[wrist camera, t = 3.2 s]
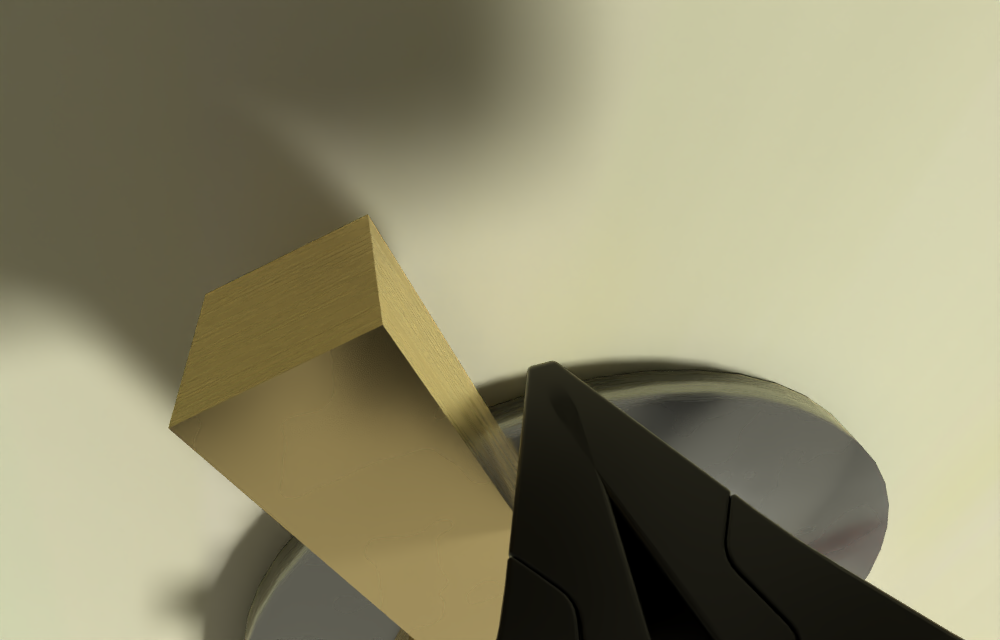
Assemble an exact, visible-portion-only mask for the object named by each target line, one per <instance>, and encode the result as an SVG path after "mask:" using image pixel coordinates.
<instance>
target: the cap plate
mask: <svg viewBox="0 0 1000 640" xmlns="http://www.w3.org/2000/svg"><path fill="white" fill-rule="evenodd" d="M583 382H585V383H586V384H587V385H589V386H590V387H591V388H593V389H594V390H595V391H597V392H598V393H599V394H601V395H602V396H603V397H605V398H606V399H608V400H609V401H610V402H612V403H613V404H614V405H616V406H617V407H618V408H620V409H621V410H622V411H624V412H625V413H626V414H628V415H629V416H630V417H632V418H633V419H635V420H636V421H637V422H639V423H640V424H641V425H643V426H644V427H645V428H647V429H648V430H649V431H651V432H652V433H653V434H655V435H656V436H657V437H659V438H660V439H662V440H663V441H664V442H666V443H667V444H668V445H670V446H671V447H672V448H674V449H675V450H676V451H678V452H679V453H680V454H682V455H683V456H684V457H686V458H687V459H689V460H690V461H691V462H693V463H694V464H695V465H697V466H698V467H699V468H701V469H702V470H703V471H705V472H706V473H707V474H709V475H710V476H712V477H713V478H714V479H716V480H717V481H718V482H720V483H721V484H722V485H724V486H725V487H726V488H728V489H729V490H730V491H731V495H733V494H736V495H738V496H739V497H740V498H742V499H743V500H744V501H746V502H747V503H748V504H750V505H751V506H752V507H754V508H755V509H756V510H758V511H759V512H760V513H762V514H763V515H765V516H766V517H768V518H769V519H770V520H772V521H773V522H775V523H776V524H779V526H780V527H782V528H783V529H785V530H786V531H788V532H789V533H791V534H792V535H793V536H795V537H796V538H798V539H799V540H801V541H802V542H804V543H806V544H807V545H809V546H810V547H812V548H813V549H815V550H817V551H818V552H820V553H821V554H823V555H825V556H826V557H828V558H829V559H831V560H832V561H834V562H836V563H837V564H839V565H840V566H842V567H844V568H845V569H847V570H849V571H850V572H852V573H854V574H855V575H857V576H859V577H860V578H862V579H864V580H865V579H866V577H867V576H868V574H869V573H870V571H871V569H872V567H873V564H874V562H875V560H876V558H877V556H878V554H879V552H880V550H881V546H882V543H883V539H884V536H885V532H886V529H887V521H888V508H889V503H888V497H887V491H886V485H885V481H884V479H883V477H882V475H881V473H880V471H879V469H878V467H877V465H876V462H875V461H874V460H873V459H872V458H871V456H870V455H869V454H868V453H867V452H866V451H865V450H864V448H863V447H862V446H861V445H860V444H859V443H858V442H857V441H856V440H855V438H854V437H853V436H852V435H851V434H850V433H849V432H848V431H847V430H846V429H845V428H844V427H843V426H842V425H841V424H840V423H839V422H838V420H837V419H836V418H835V417H834V416H833V415H832V414H831V413H829V412H828V411H827V410H825V409H824V408H822V407H821V406H819V405H818V404H817V403H815V402H814V401H812V400H811V399H810V398H808V397H806V396H804V395H802V394H799V393H797V392H795V391H793V390H790V389H788V388H786V387H783V386H781V385H779V384H776V383H772V382H768V381H764V380H760V379H756V378H752V377H748V376H744V375H740V374H730V373H720V372H711V371H701V370H674V371H644V372H636V373H629V374H621V375H613V376H605V377H598V378H592V379H588V380H584V381H583ZM524 400H525V396H523V397H520V398H517V399H514V400H511V401H508V402H505V403H502V404H499V405H496V406H493V407H490V408H488V409H489V411H490V412H491V414H492V415H493V417H494V419H495V420H496V422H497V424H498V425H499V427H500V428H501V430H502V432H503V433H504V435H505V436H506V438H507V440H508V441H509V443H510V444H511V446H512V448H513V449H514V451H515V453H516V454H517V456H518V457H519V448H520V438H521V428H522V419H523V409H524ZM400 628H401V627H399V626H398V625H397V624H396V623H395V622H394V621H392V620H391V619H390V618H389V617H388V616H387V615H385V614H384V613H383V612H382V611H381V610H380V609H378V608H377V607H376V606H375V605H374V604H373V603H371V602H370V601H369V600H368V599H367V598H366V597H364V596H363V595H362V594H361V593H360V592H359V591H357V590H356V589H355V588H354V587H353V586H352V585H350V584H349V583H348V582H347V581H346V580H345V579H343V578H342V577H341V576H340V575H339V574H338V573H337V572H335V571H334V570H333V569H332V568H331V567H330V566H328V565H327V564H326V563H325V562H324V561H323V560H321V559H320V558H319V557H318V556H317V555H316V554H314V553H313V552H312V551H311V550H310V549H309V548H307V547H306V546H305V545H304V544H303V543H302V542H300V541H299V540H298V539H297V538H296V537H295V536H293V538H292V539H291V540H290V541H289V542H288V543H287V545H286V546H285V547H284V548H283V549H282V550H281V552H280V553H279V554H278V556H277V557H276V559H275V560H274V562H273V564H272V565H271V567H270V569H269V570H268V572H267V573H266V575H265V577H264V578H263V580H262V582H261V583H260V585H259V587H258V590H257V593H256V595H255V598H254V600H253V603H252V606H251V608H250V611H249V614H248V618H247V625H246V633H245V640H395V638H396V636H397V634H398V632H399V630H400Z"/></svg>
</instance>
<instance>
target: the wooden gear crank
mask: <svg viewBox="0 0 1000 640" xmlns="http://www.w3.org/2000/svg"><path fill="white" fill-rule="evenodd" d="M169 429H170V430H171V431H172V432H173V433H175V434H176V435H177V436H178V437H179V438H180V439H182V440H183V441H184V442H185V443H186V444H187V445H189V446H190V447H191V448H192V449H193V450H194V451H196V452H197V453H198V454H199V455H200V456H201V457H203V458H204V459H205V460H206V461H207V462H208V463H210V464H211V465H212V466H213V467H214V468H215V469H217V470H218V471H219V472H220V473H221V474H222V475H224V476H225V477H226V478H227V479H228V480H229V481H231V482H232V483H233V484H234V485H235V486H236V487H238V488H239V489H240V490H241V491H242V492H243V493H244V494H246V495H247V496H248V497H249V498H250V499H251V500H253V501H254V502H255V503H256V504H257V505H258V506H260V507H261V508H262V509H263V510H264V511H265V512H267V513H268V514H269V515H270V516H271V517H272V518H274V519H275V520H276V521H277V522H278V523H279V524H281V525H282V526H283V527H284V528H285V529H286V530H288V531H289V532H290V533H291V534H292V535H293V536H295V537H296V538H297V539H298V540H299V541H300V542H302V543H303V544H304V545H305V546H306V547H307V548H309V549H310V550H311V551H312V552H313V553H314V554H316V555H317V556H318V557H319V558H320V559H321V560H323V561H324V562H325V563H326V564H327V565H328V566H330V567H331V568H332V569H333V570H334V571H335V572H337V573H338V574H339V575H340V576H341V577H342V578H343V579H345V580H346V581H347V582H348V583H349V584H350V585H352V586H353V587H354V588H355V589H356V590H357V591H359V592H360V593H361V594H362V595H363V596H364V597H366V598H367V599H368V600H369V601H370V602H371V603H373V604H374V605H375V606H376V607H377V608H378V609H380V610H381V611H382V612H383V613H384V614H385V615H387V616H388V617H389V618H390V619H391V620H392V621H394V622H395V623H396V624H397V625H398V626H399V627H401V628H400V630H399V632H398V634H397V636H396V638H395V640H496V638H497V633H498V628H499V622H500V615H501V608H502V601H503V594H504V587H505V578H506V568H507V560H508V559H509V555H508V553H509V543H510V534H511V524H512V514H513V505H514V495H515V486H516V476H517V467H518V456H517V454H516V453H515V451H514V449H513V448H512V446H511V444H510V443H509V441H508V440H507V438H506V436H505V435H504V433H503V432H502V430H501V428H500V427H499V425H498V424H497V422H496V420H495V419H494V417H493V415H492V414H491V412H490V411H489V409H488V407H487V406H486V404H485V403H484V401H483V399H482V398H481V396H480V394H479V393H478V391H477V390H476V388H475V386H474V385H473V383H472V382H471V380H470V378H469V377H468V375H467V373H466V372H465V370H464V369H463V367H462V365H461V364H460V362H459V361H458V359H457V357H456V356H455V354H454V352H453V351H452V349H451V348H450V346H449V344H448V343H447V341H446V340H445V338H444V336H443V335H442V333H441V332H440V330H439V328H438V327H437V325H436V323H435V322H434V320H433V319H432V317H431V315H430V314H429V312H428V311H427V309H426V307H425V306H424V304H423V302H422V301H421V299H420V298H419V296H418V294H417V293H416V291H415V290H414V288H413V286H412V285H411V283H410V281H409V280H408V278H407V277H406V275H405V273H404V272H403V270H402V269H401V267H400V265H399V264H398V262H397V260H396V259H395V257H394V256H393V254H392V252H391V251H390V249H389V248H388V246H387V244H386V243H385V241H384V240H383V238H382V236H381V235H380V233H379V231H378V230H377V228H376V227H375V225H374V223H373V222H372V220H371V219H370V217H369V215H368V214H367V215H365V216H363V217H361V218H359V219H357V220H355V221H353V222H351V223H349V224H347V225H345V226H343V227H341V228H339V229H337V230H335V231H333V232H331V233H329V234H327V235H325V236H323V237H321V238H319V239H317V240H315V241H313V242H311V243H309V244H307V245H305V246H302V247H300V248H298V249H296V250H294V251H292V252H290V253H288V254H286V255H284V256H282V257H280V258H278V259H276V260H274V261H272V262H270V263H268V264H266V265H264V266H262V267H260V268H258V269H256V270H254V271H252V272H250V273H248V274H246V275H244V276H242V277H240V278H238V279H236V280H234V281H232V282H230V283H227V284H225V285H223V286H221V287H219V288H217V289H215V290H213V291H211V292H209V293H207V294H206V295H205V298H204V302H203V305H202V309H201V313H200V316H199V320H198V323H197V327H196V331H195V334H194V338H193V341H192V345H191V349H190V352H189V356H188V359H187V363H186V367H185V370H184V374H183V377H182V381H181V385H180V388H179V392H178V395H177V399H176V403H175V406H174V410H173V413H172V417H171V421H170V424H169ZM778 525H779V524H778ZM790 534H791V533H790Z"/></svg>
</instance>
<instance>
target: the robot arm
mask: <svg viewBox="0 0 1000 640" xmlns="http://www.w3.org/2000/svg"><path fill="white" fill-rule="evenodd" d="M508 555H509V559H508V560H507V568H506V578H505V587H504V594H503V601H502V608H501V615H500V622H499V628H498V633H497V638H496V640H964V639H962V638H961V637H959V636H957V635H955V634H953V633H952V632H950V631H948V630H947V629H945V628H943V627H942V626H940V625H938V624H937V623H935V622H933V621H932V620H930V619H928V618H927V617H925V616H923V615H922V614H920V613H918V612H917V611H915V610H913V609H912V608H910V607H909V606H907V605H905V604H904V603H902V602H900V601H899V600H897V599H895V598H894V597H892V596H890V595H889V594H887V593H885V592H884V591H882V590H880V589H879V588H877V587H875V586H874V585H872V584H870V583H869V582H867V581H865V580H864V579H862V578H860V577H859V576H857V575H855V574H854V573H852V572H850V571H849V570H847V569H845V568H844V567H842V566H840V565H839V564H837V563H836V562H834V561H832V560H831V559H829V558H828V557H826V556H825V555H823V554H821V553H820V552H818V551H817V550H815V549H813V548H812V547H810V546H809V545H807V544H806V543H804V542H802V541H801V540H799V539H798V538H796V537H795V536H793V535H792V534H790V533H789V532H788V531H786V530H785V529H783V528H782V527H780V526H779V525H778V524H776V523H775V522H773V521H772V520H770V519H769V518H768V517H766V516H765V515H763V514H762V513H760V512H759V511H758V510H756V509H755V508H754V507H752V506H751V505H750V504H748V503H747V502H746V501H744V500H743V499H742V498H740V497H739V496H738V495H736V494H733V495H731V491H730V490H729V489H728V488H726V487H725V486H724V485H722V484H721V483H720V482H718V481H717V480H716V479H714V478H713V477H712V476H710V475H709V474H707V473H706V472H705V471H703V470H702V469H701V468H699V467H698V466H697V465H695V464H694V463H693V462H691V461H690V460H689V459H687V458H686V457H684V456H683V455H682V454H680V453H679V452H678V451H676V450H675V449H674V448H672V447H671V446H670V445H668V444H667V443H666V442H664V441H663V440H662V439H660V438H659V437H657V436H656V435H655V434H653V433H652V432H651V431H649V430H648V429H647V428H645V427H644V426H643V425H641V424H640V423H639V422H637V421H636V420H635V419H633V418H632V417H630V416H629V415H628V414H626V413H625V412H624V411H622V410H621V409H620V408H618V407H617V406H616V405H614V404H613V403H612V402H610V401H609V400H608V399H606V398H605V397H603V396H602V395H601V394H599V393H598V392H597V391H595V390H594V389H593V388H591V387H590V386H589V385H587V384H586V383H585V382H583V381H582V380H581V379H579V378H578V377H576V376H575V375H574V374H572V373H571V372H570V371H568V370H567V369H566V368H564V367H563V366H562V365H560V364H559V363H557V362H555V361H549V362H545V363H541V364H537V365H533V366H531V367H529V369H528V371H527V381H526V390H525V400H524V409H523V419H522V428H521V438H520V448H519V457H518V467H517V476H516V486H515V495H514V505H513V514H512V524H511V534H510V543H509V553H508Z"/></svg>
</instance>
